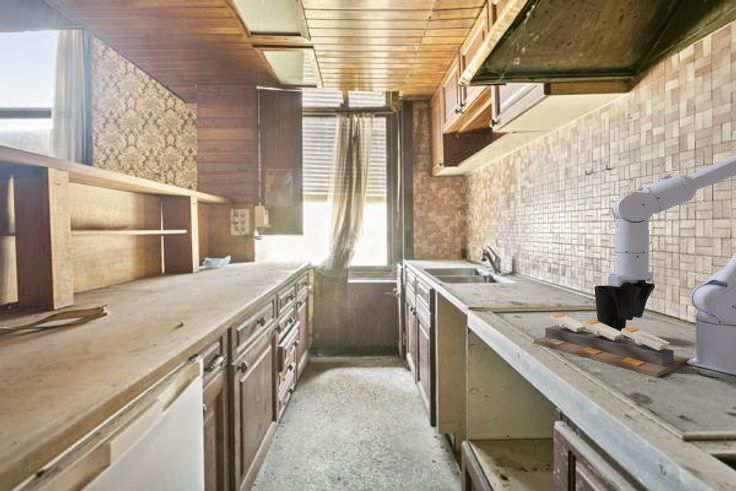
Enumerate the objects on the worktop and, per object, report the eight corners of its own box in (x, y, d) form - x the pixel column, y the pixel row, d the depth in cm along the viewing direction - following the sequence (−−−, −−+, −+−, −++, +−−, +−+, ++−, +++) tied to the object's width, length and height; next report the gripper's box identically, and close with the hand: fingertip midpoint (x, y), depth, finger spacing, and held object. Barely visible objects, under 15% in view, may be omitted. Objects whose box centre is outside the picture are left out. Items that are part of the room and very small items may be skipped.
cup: (594, 336, 95) (595, 288, 94) (592, 329, 101) (593, 284, 101) (631, 340, 91) (632, 290, 91) (627, 332, 98) (627, 286, 97)
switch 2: (622, 340, 81) (625, 332, 81) (612, 343, 79) (615, 335, 79) (590, 325, 87) (592, 318, 86) (580, 328, 85) (582, 320, 84)
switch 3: (666, 350, 74) (669, 341, 74) (657, 353, 72) (660, 345, 72) (629, 333, 80) (631, 325, 79) (619, 336, 78) (621, 328, 77)
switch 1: (585, 332, 88) (587, 325, 87) (575, 334, 86) (577, 327, 85) (557, 319, 94) (559, 312, 93) (547, 321, 92) (549, 314, 91)
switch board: (689, 362, 75) (689, 347, 75) (657, 377, 68) (657, 360, 68) (568, 334, 97) (568, 322, 97) (533, 343, 89) (533, 330, 89)
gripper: (627, 250, 84) (627, 310, 85) (592, 253, 77) (591, 319, 77) (665, 251, 78) (664, 316, 79) (630, 254, 71) (629, 326, 71)
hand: (630, 318), depth 78 cm, fingers open, 3 cm apart
